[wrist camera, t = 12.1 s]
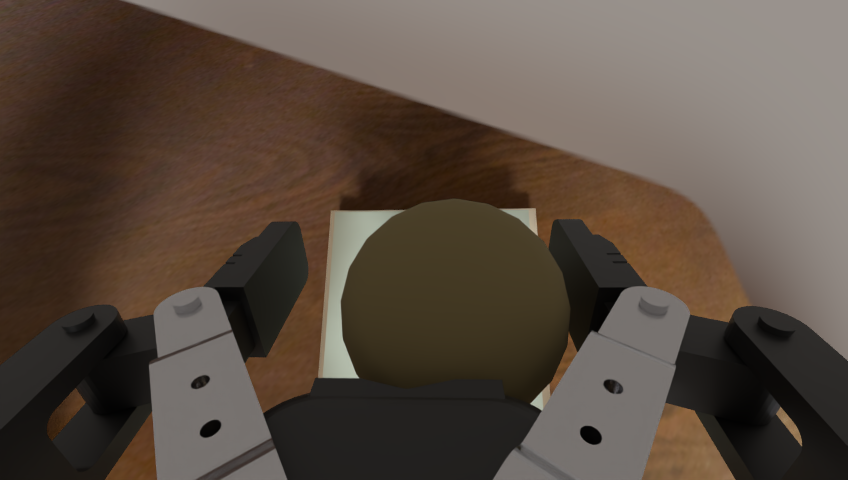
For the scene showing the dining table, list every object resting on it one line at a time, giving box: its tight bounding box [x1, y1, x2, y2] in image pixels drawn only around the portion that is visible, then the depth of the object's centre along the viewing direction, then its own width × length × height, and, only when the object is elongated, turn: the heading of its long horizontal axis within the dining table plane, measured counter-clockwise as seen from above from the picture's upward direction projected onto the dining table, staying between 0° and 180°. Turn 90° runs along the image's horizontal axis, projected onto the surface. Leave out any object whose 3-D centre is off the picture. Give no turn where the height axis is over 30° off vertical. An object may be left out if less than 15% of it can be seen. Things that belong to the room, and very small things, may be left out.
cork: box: [340, 198, 571, 404], centre depth 12 cm, size 6×6×11 cm
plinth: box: [318, 208, 550, 410], centre depth 20 cm, size 12×12×4 cm
